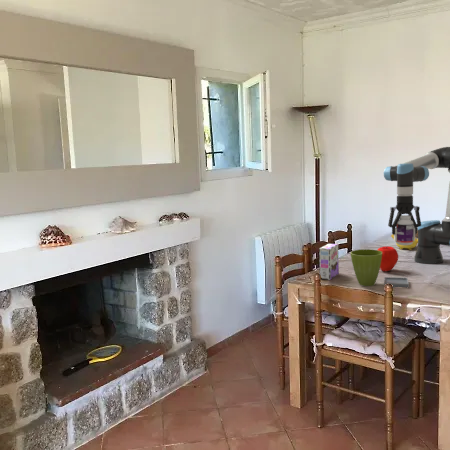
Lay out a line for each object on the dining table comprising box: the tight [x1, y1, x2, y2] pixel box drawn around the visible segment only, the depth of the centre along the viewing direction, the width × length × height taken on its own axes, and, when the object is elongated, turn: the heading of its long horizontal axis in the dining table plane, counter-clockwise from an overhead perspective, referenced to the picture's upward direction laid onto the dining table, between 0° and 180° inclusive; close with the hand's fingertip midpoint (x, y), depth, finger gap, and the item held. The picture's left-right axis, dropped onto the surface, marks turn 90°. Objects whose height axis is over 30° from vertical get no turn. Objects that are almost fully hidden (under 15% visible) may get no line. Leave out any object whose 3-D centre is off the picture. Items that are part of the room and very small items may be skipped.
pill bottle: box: [395, 214, 414, 245], centre depth 251 cm, size 8×8×14 cm
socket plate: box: [383, 276, 410, 289], centre depth 246 cm, size 11×11×2 cm
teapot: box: [390, 234, 418, 251], centre depth 324 cm, size 20×18×11 cm
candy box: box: [318, 243, 340, 281], centre depth 265 cm, size 14×6×16 cm, turn 148°
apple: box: [377, 246, 399, 272], centre depth 271 cm, size 12×12×13 cm
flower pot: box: [350, 248, 382, 287], centre depth 248 cm, size 15×15×16 cm
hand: (404, 240), depth 252 cm, fingers closed on pill bottle, 8 cm apart
